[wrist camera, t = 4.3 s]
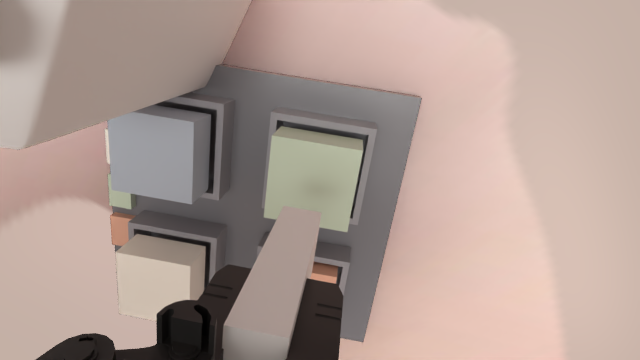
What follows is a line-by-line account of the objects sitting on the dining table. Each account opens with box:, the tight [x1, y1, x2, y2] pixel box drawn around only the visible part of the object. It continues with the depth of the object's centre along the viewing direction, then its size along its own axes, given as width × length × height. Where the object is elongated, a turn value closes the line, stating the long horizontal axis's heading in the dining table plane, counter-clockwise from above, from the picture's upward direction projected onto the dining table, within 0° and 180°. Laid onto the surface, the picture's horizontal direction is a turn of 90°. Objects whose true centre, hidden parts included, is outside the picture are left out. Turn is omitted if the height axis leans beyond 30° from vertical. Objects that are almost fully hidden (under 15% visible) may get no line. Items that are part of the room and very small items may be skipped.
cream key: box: [115, 234, 206, 321], centre depth 25 cm, size 5×5×2 cm
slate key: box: [107, 105, 211, 204], centre depth 22 cm, size 5×5×2 cm
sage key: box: [264, 126, 363, 232], centre depth 21 cm, size 5×5×2 cm
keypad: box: [105, 64, 422, 342], centre depth 26 cm, size 20×19×3 cm
